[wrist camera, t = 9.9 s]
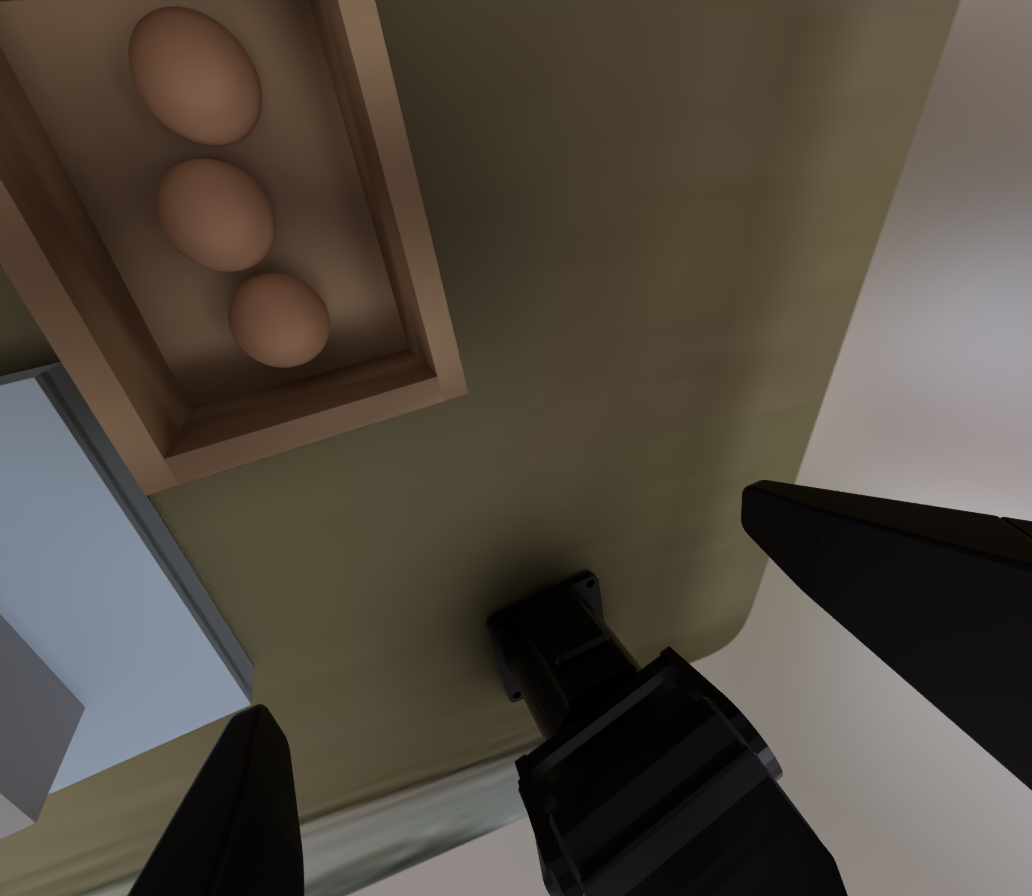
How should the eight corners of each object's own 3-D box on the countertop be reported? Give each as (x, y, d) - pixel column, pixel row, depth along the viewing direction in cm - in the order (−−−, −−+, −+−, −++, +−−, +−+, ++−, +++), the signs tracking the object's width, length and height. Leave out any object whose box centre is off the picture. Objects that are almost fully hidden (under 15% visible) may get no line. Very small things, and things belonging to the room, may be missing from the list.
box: (429, 359, 19) (468, 393, 15) (181, 431, 17) (145, 495, 13) (321, -45, 14) (335, -166, 10) (-68, -25, 12) (-276, -175, 7)
